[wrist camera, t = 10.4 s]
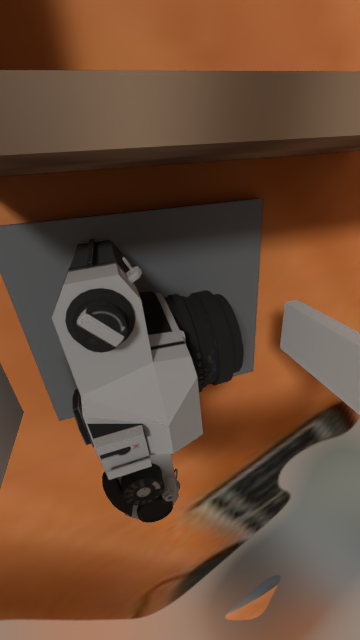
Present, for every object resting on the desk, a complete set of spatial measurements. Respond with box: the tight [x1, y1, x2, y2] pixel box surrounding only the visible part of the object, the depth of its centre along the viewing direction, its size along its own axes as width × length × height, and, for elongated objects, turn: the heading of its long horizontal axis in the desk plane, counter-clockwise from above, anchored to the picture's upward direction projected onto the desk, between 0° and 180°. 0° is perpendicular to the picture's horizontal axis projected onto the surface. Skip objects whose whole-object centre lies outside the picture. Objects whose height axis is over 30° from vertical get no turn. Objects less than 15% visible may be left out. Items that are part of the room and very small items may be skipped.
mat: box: [0, 198, 263, 421], centre depth 16 cm, size 14×12×1 cm
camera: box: [52, 239, 244, 522], centre depth 13 cm, size 13×8×9 cm, turn 9°
